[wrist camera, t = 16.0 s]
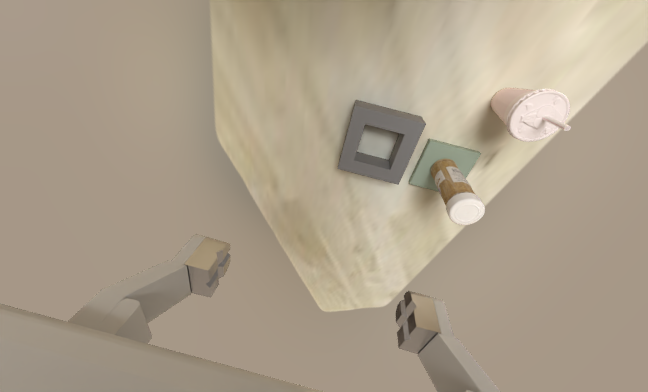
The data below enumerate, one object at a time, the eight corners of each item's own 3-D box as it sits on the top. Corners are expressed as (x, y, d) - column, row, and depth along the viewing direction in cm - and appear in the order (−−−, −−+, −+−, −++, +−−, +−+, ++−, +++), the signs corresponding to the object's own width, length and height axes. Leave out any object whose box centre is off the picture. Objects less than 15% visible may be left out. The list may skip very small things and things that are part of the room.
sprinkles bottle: (424, 168, 46) (442, 211, 35) (447, 152, 44) (474, 193, 32) (439, 184, 47) (461, 231, 36) (462, 169, 45) (492, 215, 34)
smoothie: (521, 118, 40) (584, 154, 28) (477, 122, 41) (520, 157, 30) (534, 75, 36) (610, 94, 25) (485, 80, 38) (537, 101, 26)
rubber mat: (429, 138, 44) (430, 140, 43) (478, 151, 44) (481, 153, 43) (408, 181, 49) (409, 183, 48) (453, 192, 49) (454, 195, 48)
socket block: (356, 99, 42) (354, 105, 39) (421, 116, 42) (425, 123, 39) (339, 159, 48) (337, 168, 45) (396, 174, 48) (398, 184, 45)
